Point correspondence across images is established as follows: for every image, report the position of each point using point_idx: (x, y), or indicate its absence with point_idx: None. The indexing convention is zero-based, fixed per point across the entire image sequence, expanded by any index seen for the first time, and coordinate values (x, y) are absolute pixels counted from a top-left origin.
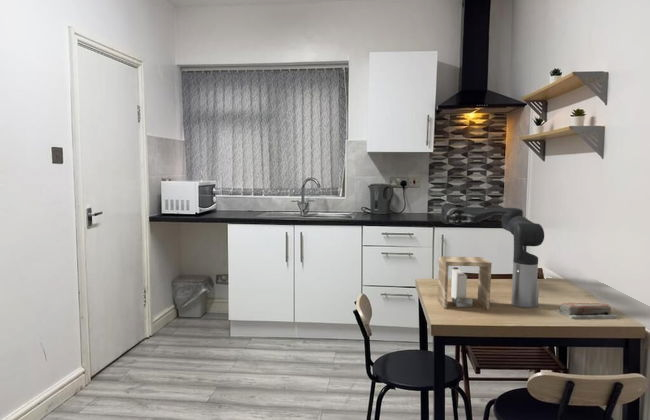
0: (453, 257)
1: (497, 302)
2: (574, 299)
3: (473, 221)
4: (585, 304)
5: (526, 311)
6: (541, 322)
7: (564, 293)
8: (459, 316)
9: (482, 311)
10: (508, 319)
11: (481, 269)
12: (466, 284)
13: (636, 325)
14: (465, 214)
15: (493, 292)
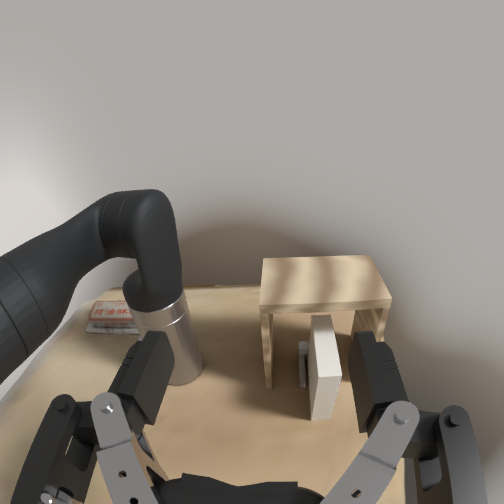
0: (350, 292)
1: (226, 383)
2: (57, 385)
3: (173, 360)
4: (119, 307)
5: (202, 335)
6: (214, 296)
7: (35, 420)
8: None
9: (285, 331)
10: (257, 303)
11: (269, 314)
12: (310, 332)
13: (106, 291)
14: (150, 489)
15: (185, 465)
